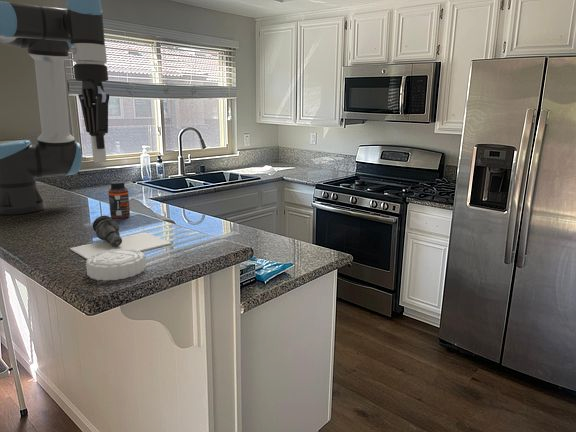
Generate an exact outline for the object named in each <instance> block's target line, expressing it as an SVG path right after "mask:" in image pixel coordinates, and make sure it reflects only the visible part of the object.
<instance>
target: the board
mask: <svg viewBox="0 0 576 432" xmlns="http://www.w3.org/2000/svg"><path fill="white" fill-rule="evenodd" d="M120 237H121V239H122V243H121V244H120V245H119V246H117V247H114V246H112V245H111V244H110V243H108V242H107V241H106V240H102V241H98V242H93V243H87V244H82V245H79V246H73V247H70V248H69V249H70V251H72V252H74V253H75V254H76V255H78V256H81V257H82V258H83V259H85V260H88V258H89V257H91V256H93V255H95V254H96V253H101V252H105V251H108V250H112V249H135V250H136V251H141V252H142V253H143V252H145V251H149V250H153V249H157V248H161V247H162V248H163V247H165V246H170V245H172V242H170V241H168V240H165V239H162V238H160V237H158V236H156V235H152V234H151V233H148V232H145V231H144V232H140V233H135V234H131V235H126V236H120Z"/></svg>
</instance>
